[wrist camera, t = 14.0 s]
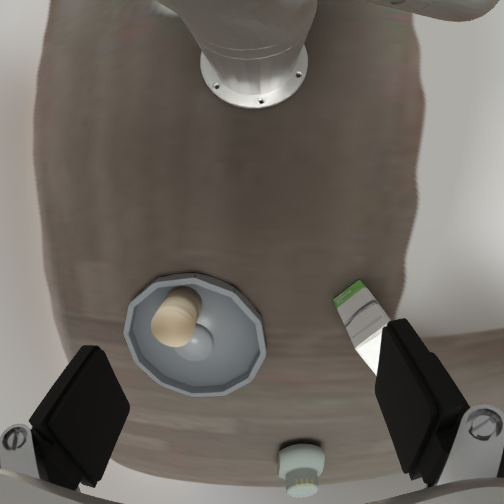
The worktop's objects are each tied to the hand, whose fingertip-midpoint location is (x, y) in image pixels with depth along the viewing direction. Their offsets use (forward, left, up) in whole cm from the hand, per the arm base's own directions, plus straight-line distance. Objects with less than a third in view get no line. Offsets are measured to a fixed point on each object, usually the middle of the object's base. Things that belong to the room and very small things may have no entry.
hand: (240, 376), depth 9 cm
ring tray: (+17, -12, -30) cm, 36 cm away
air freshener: (+48, +1, -30) cm, 56 cm away
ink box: (+16, +12, -30) cm, 36 cm away
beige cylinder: (+11, -11, -29) cm, 33 cm away
